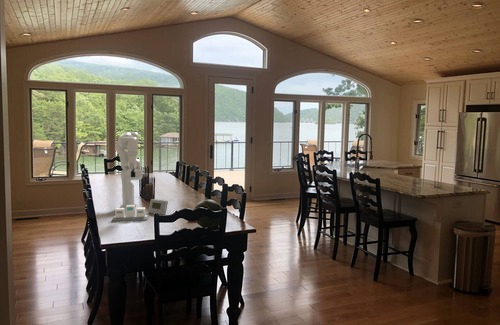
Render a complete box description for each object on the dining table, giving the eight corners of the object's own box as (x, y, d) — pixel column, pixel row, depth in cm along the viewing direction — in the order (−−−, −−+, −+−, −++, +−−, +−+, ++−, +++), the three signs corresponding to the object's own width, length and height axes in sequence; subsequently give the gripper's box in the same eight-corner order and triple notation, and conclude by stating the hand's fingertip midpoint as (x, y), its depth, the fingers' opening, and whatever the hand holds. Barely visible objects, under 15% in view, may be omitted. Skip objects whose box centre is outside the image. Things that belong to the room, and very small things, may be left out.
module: (127, 215, 302) (126, 205, 301) (135, 215, 303) (135, 204, 302) (126, 217, 297) (125, 206, 296) (134, 217, 298) (134, 206, 297)
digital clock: (147, 212, 318) (147, 199, 317) (156, 210, 325) (155, 197, 324) (161, 216, 309) (161, 202, 308) (170, 213, 316) (170, 200, 315)
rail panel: (115, 216, 304) (114, 206, 304) (148, 216, 308) (148, 206, 307) (111, 221, 292) (111, 210, 291) (146, 220, 295) (146, 210, 294)
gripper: (129, 152, 317) (129, 175, 319) (126, 154, 302) (126, 178, 304) (138, 152, 318) (139, 175, 320) (136, 154, 303) (136, 178, 305)
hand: (133, 177), depth 312 cm, fingers closed
